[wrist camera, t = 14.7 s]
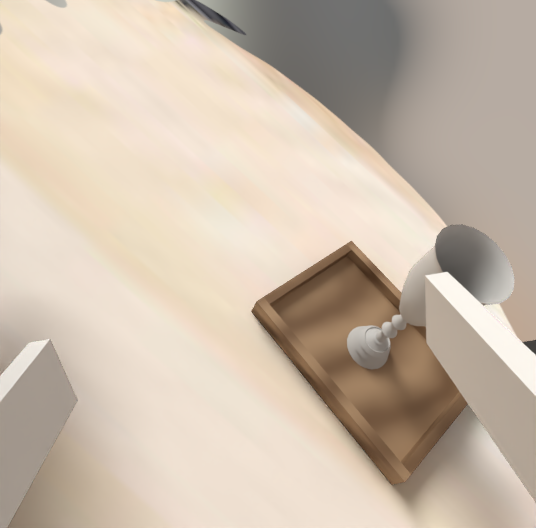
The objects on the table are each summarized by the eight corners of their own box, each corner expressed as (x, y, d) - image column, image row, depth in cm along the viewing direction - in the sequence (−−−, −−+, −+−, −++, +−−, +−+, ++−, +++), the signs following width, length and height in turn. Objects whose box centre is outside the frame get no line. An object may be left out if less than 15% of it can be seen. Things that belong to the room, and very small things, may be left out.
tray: (251, 311, 46) (256, 301, 45) (343, 251, 55) (351, 240, 53) (392, 484, 40) (405, 481, 38) (471, 387, 49) (485, 381, 47)
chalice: (392, 388, 45) (518, 318, 30) (334, 366, 44) (433, 284, 30) (398, 329, 49) (510, 242, 35) (344, 308, 49) (436, 212, 34)
